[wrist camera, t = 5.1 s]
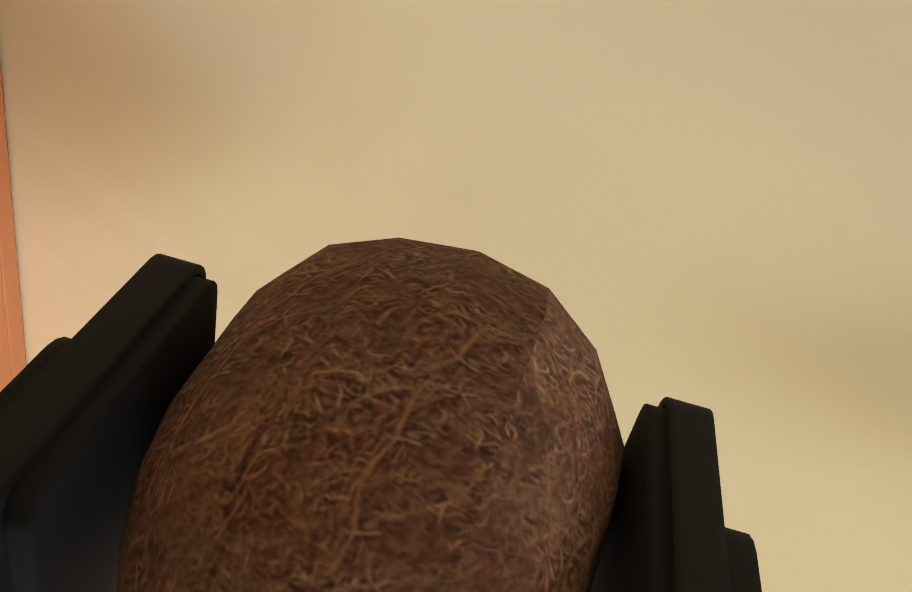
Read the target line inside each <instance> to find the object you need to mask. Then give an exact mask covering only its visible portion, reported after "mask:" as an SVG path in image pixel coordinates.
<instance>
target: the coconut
mask: <svg viewBox="0 0 912 592" xmlns="http://www.w3.org/2000/svg"><path fill="white" fill-rule="evenodd" d="M624 449H625V448H624V444H623V441H622V437H621V433H620V430H619V426H618V422H617V419H616V415H615V412H614V408H613V405H612V401H611V398H610V395H609V391H608V388H607V385H606V381H605V378H604V375H603V371H602V368H601V364H600V361H599V358H598V354H597V351H596V349H595V348H594V346H593V345H592V344H591V342H590V341H589V340H588V339H587V337H586V336H585V335H584V333H583V332H582V331H581V329H580V328H579V327H578V326H577V324H576V323H575V322H574V320H573V319H572V318H571V316H570V315H569V314H568V312H567V311H566V310H565V309H564V307H563V306H562V305H561V303H560V302H559V301H558V299H557V298H556V297H555V295H554V294H553V293H552V292H551V290H550V289H549V288H547V287H545V286H543V285H541V284H540V283H538V282H536V281H534V280H532V279H530V278H528V277H526V276H524V275H522V274H521V273H519V272H517V271H515V270H513V269H511V268H509V267H507V266H505V265H504V264H502V263H500V262H498V261H496V260H494V259H492V258H490V257H488V256H486V255H485V254H483V253H481V252H478V251H474V250H468V249H462V248H456V247H450V246H445V245H439V244H433V243H427V242H421V241H415V240H409V239H404V238H392V239H382V240H372V241H362V242H352V243H342V244H332V245H328V246H326V247H325V248H323V249H322V250H320V251H318V252H317V253H315V254H314V255H312V256H310V257H309V258H307V259H305V260H304V261H302V262H301V263H299V264H297V265H296V266H294V267H293V268H291V269H289V270H288V271H286V272H285V273H283V274H281V275H280V276H278V277H277V278H275V279H274V280H272V281H271V282H269V283H268V284H266V285H265V286H263V287H262V288H260V289H259V290H257V291H256V292H255V293H254V295H253V296H252V297H251V298H250V299H249V300H248V302H247V303H246V304H245V305H244V306H243V308H242V309H241V310H240V311H239V312H238V314H237V315H236V316H235V317H234V318H233V320H232V321H231V322H230V324H229V325H228V326H227V328H226V329H225V330H224V332H223V333H222V334H221V336H220V337H219V338H218V340H217V341H216V342H215V344H214V345H213V346H212V348H211V349H210V350H209V352H208V353H207V354H206V356H205V357H204V358H203V360H202V361H201V362H200V364H199V365H198V366H197V368H196V369H195V370H194V372H193V373H192V374H191V376H190V377H189V378H188V380H187V381H186V382H185V384H184V385H183V386H182V388H181V389H180V390H179V392H178V393H177V394H176V396H175V397H174V398H173V400H172V401H171V402H170V404H169V406H168V408H167V410H166V412H165V415H164V417H163V419H162V421H161V423H160V425H159V427H158V429H157V431H156V433H155V435H154V437H153V440H152V442H151V444H150V446H149V448H148V450H147V452H146V454H145V456H144V458H143V460H142V462H141V464H140V467H139V469H138V471H137V473H136V475H135V478H134V482H133V486H132V491H131V495H130V500H129V504H128V508H127V513H126V517H125V521H124V526H123V530H122V535H121V539H120V543H119V553H118V571H117V590H116V592H591V589H592V585H593V582H594V578H595V575H596V571H597V568H598V564H599V561H600V557H601V553H602V549H603V546H604V542H605V538H606V534H607V530H608V526H609V522H610V518H611V514H612V511H613V507H614V503H615V499H616V495H617V490H618V484H619V478H620V473H621V467H622V461H623V455H624Z"/></svg>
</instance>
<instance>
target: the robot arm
mask: <svg viewBox="0 0 912 592" xmlns="http://www.w3.org/2000/svg"><path fill="white" fill-rule="evenodd" d="M216 310H217V284H216V282H214V281H212V280H208V279H206V272H205V269H204V267H202V266H201V265H198V264H195V263H191V262H187V261H184V260H180V259H177V258H173V257H170V256H166V255H163V254H155V255H154V256H153V257H151V258H150V259H149V260H148V261H147V262H146V263H145V264H144V265H143V266H142V267H141V268H140V269H139V270H138V271H137V272H136V273H135V275H134V276H133V277H132V278H131V279H130V280H129V281H128V282H127V283H126V284H125V285H124V286H123V287H122V288H121V289H120V290H119V291H118V292H117V293H116V294H115V295H114V296H113V297H112V298H111V299H110V300H109V301H108V302H107V303H106V304H105V305H104V306H103V307H102V308H101V309H100V310H99V311H98V312H97V313H96V314H95V315H94V316H93V318H92V319H91V320H90V321H89V322H88V323H87V324H86V325H85V326H84V327H83V328H82V329H81V330H80V331H79V332H78V333H77V334H76V335H75V336H74V337H73V338H72V339H70V338H67V337H62V338H58V339H55V340H54V341H53V342H51V343H50V344H49V345H47V346H46V347H45V348H44V349H43V350H42V351H41V352H40V353H39V354H38V355H37V356H36V357H35V358H34V359H33V360H32V361H31V362H30V363H29V364H28V365H27V366H26V367H25V368H24V369H23V370H22V371H21V372H20V373H19V374H18V375H17V376H16V377H15V378H14V379H13V380H12V381H11V382H10V383H9V384H8V385H7V386H6V387H5V388H4V389H3V390H2V391H1V392H0V592H116V590H117V571H118V553H119V543H120V539H121V535H122V530H123V526H124V521H125V517H126V513H127V508H128V504H129V500H130V495H131V491H132V486H133V482H134V478H135V475H136V473H137V471H138V469H139V467H140V464H141V462H142V460H143V458H144V456H145V454H146V452H147V450H148V448H149V446H150V444H151V442H152V440H153V437H154V435H155V433H156V431H157V429H158V427H159V425H160V423H161V421H162V419H163V417H164V415H165V412H166V410H167V408H168V406H169V404H170V402H171V401H172V400H173V398H174V397H175V396H176V394H177V393H178V392H179V390H180V389H181V388H182V386H183V385H184V384H185V382H186V381H187V380H188V378H189V377H190V376H191V374H192V373H193V372H194V370H195V369H196V368H197V366H198V365H199V364H200V362H201V361H202V360H203V358H204V357H205V356H206V354H207V353H208V352H209V350H210V349H211V348H212V346H213V345H214V344H215V328H216ZM624 448H625V449H624V455H623V461H622V467H621V473H620V478H619V484H618V490H617V495H616V499H615V503H614V507H613V511H612V514H611V518H610V522H609V526H608V530H607V534H606V538H605V542H604V546H603V549H602V553H601V557H600V561H599V564H598V568H597V571H596V575H595V578H594V582H593V585H592V589H591V592H762V589H761V582H760V575H759V568H758V560H757V553H756V549H755V545H754V541H753V539H752V538H751V537H750V535H749V534H746V533H743V532H739V531H736V530H732V529H729V528H725V526H724V516H723V506H722V496H721V486H720V476H719V466H718V456H717V446H716V436H715V426H714V417H713V413H712V411H711V410H710V409H707V408H704V407H700V406H697V405H693V404H690V403H686V402H683V401H679V400H676V399H672V398H669V397H665V398H663V400H662V401H661V402H660V404H659V406H658V407H656V406H653V405H649V404H644V406H643V407H642V409H641V411H640V413H639V415H638V417H637V419H636V422H635V424H634V426H633V429H632V431H631V433H630V435H629V438H628V440H627V442H626V444H625V447H624Z"/></svg>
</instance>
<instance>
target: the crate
mask: <svg viewBox="0 0 912 592" xmlns="http://www.w3.org/2000/svg"><path fill="white" fill-rule="evenodd" d="M25 367H26V355H25V344H24V332H23V321H22V309H21V298H20V286H19V275H18V263H17V252H16V240H15V229H14V217H13V206H12V195H11V183H10V172H9V160H8V149H7V137H6V126H5V114H4V103H3V91H2V80H1V68H0V392H1V391H2V390H3V389H4V388H5V387H6V386H7V385H8V384H9V383H10V382H11V381H12V380H13V379H14V378H15V377H16V376H17V375H18V374H19V373H20V372H21V371H22V370H23V369H24V368H25Z"/></svg>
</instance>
